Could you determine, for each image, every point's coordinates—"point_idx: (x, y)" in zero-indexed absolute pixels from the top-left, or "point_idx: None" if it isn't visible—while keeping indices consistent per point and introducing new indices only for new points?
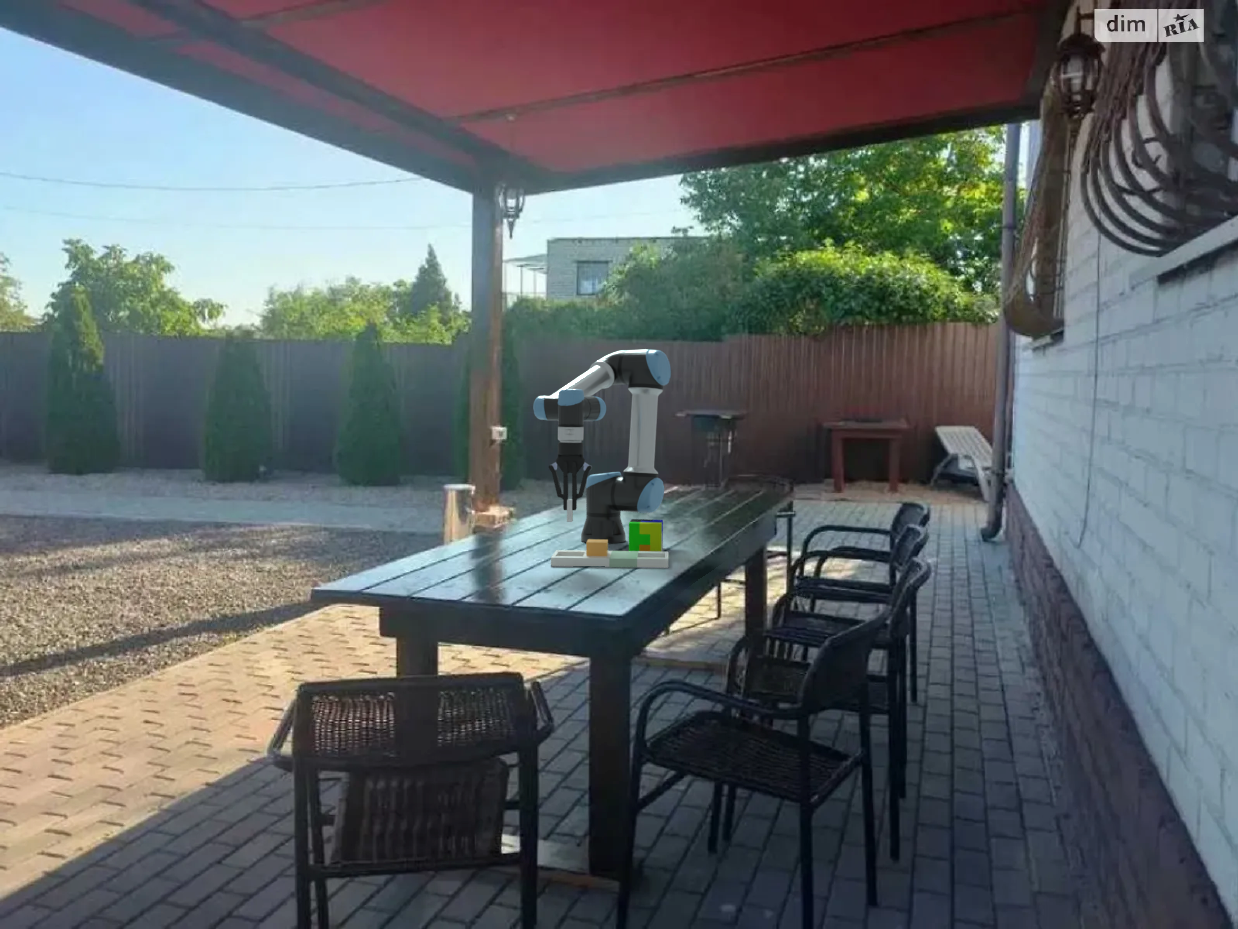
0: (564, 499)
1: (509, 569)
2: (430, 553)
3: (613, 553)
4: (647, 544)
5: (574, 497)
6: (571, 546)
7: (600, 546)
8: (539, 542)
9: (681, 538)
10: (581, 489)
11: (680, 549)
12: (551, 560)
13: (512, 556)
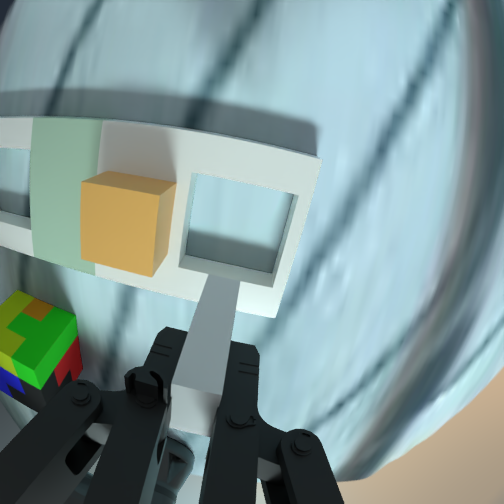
0: (246, 412)
1: (447, 132)
2: (500, 366)
3: None
4: (25, 315)
5: (140, 396)
6: None
7: (111, 182)
8: None
9: None
10: (43, 438)
11: None
12: (318, 158)
13: (387, 340)
